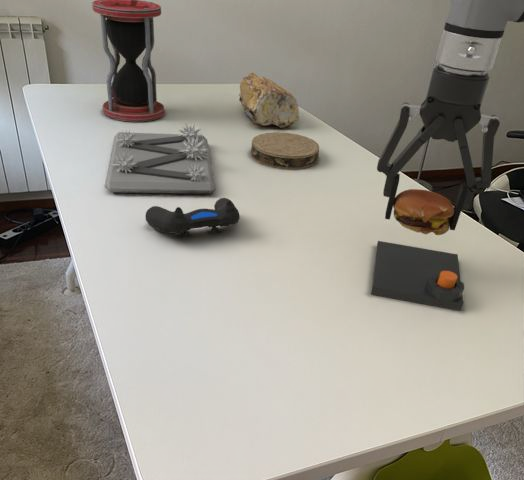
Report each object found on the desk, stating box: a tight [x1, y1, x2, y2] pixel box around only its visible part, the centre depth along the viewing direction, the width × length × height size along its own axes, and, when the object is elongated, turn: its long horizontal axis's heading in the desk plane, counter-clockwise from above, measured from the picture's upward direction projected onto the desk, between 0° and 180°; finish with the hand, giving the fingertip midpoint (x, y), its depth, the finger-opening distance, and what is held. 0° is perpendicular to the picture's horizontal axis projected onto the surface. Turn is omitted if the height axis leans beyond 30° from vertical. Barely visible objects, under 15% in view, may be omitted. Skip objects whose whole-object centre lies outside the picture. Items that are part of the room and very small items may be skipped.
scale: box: [370, 240, 465, 311], centre depth 91 cm, size 14×16×3 cm
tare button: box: [437, 271, 457, 289], centre depth 85 cm, size 3×3×2 cm
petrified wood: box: [238, 72, 300, 129], centre depth 150 cm, size 19×13×10 cm
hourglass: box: [91, 0, 165, 123], centre depth 140 cm, size 16×16×25 cm
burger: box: [392, 188, 454, 236], centre depth 87 cm, size 10×9×5 cm
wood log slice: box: [250, 131, 320, 170], centre depth 130 cm, size 16×16×3 cm
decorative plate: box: [104, 122, 217, 195], centre depth 117 cm, size 30×22×7 cm
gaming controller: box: [144, 197, 241, 236], centre depth 97 cm, size 17×6×10 cm
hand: (419, 221), depth 88 cm, fingers closed on burger, 9 cm apart
